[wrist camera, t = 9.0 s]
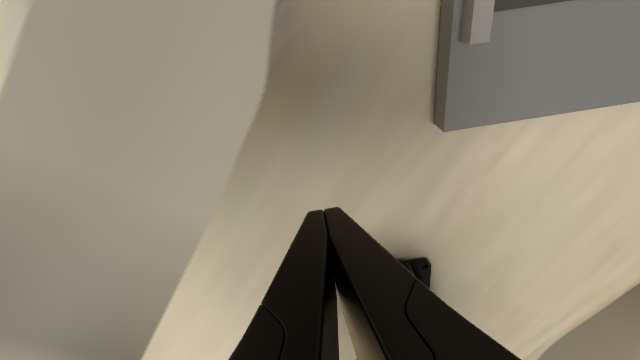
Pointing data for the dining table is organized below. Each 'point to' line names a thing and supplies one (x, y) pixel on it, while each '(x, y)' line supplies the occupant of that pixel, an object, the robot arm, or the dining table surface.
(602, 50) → the grey fader track
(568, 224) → the dining table surface
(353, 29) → the dining table surface
